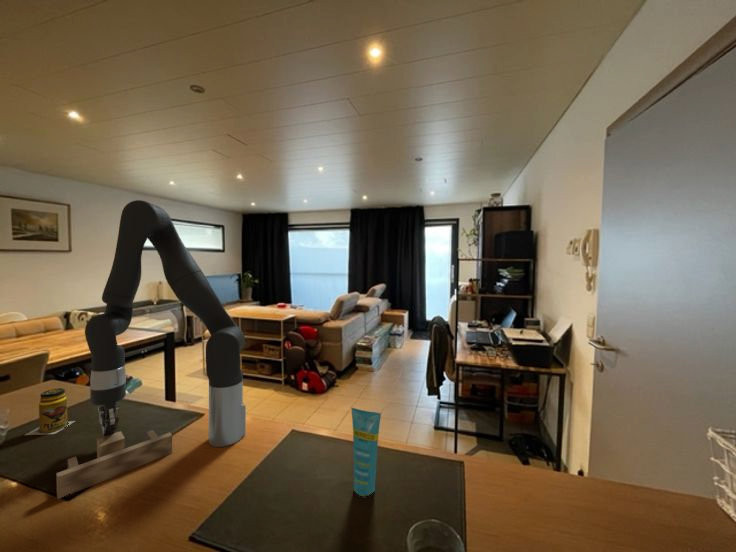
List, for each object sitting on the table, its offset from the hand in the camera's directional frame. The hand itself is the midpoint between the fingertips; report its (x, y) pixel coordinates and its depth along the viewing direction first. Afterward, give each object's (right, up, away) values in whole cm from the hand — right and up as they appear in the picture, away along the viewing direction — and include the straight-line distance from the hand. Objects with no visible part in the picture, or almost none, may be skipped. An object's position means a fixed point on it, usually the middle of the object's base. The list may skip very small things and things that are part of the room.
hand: (108, 443), depth 84 cm
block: (+4, -1, -3) cm, 5 cm away
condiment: (-27, -1, +10) cm, 28 cm away
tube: (+72, -3, -14) cm, 74 cm away
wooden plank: (+8, -2, -7) cm, 11 cm away
